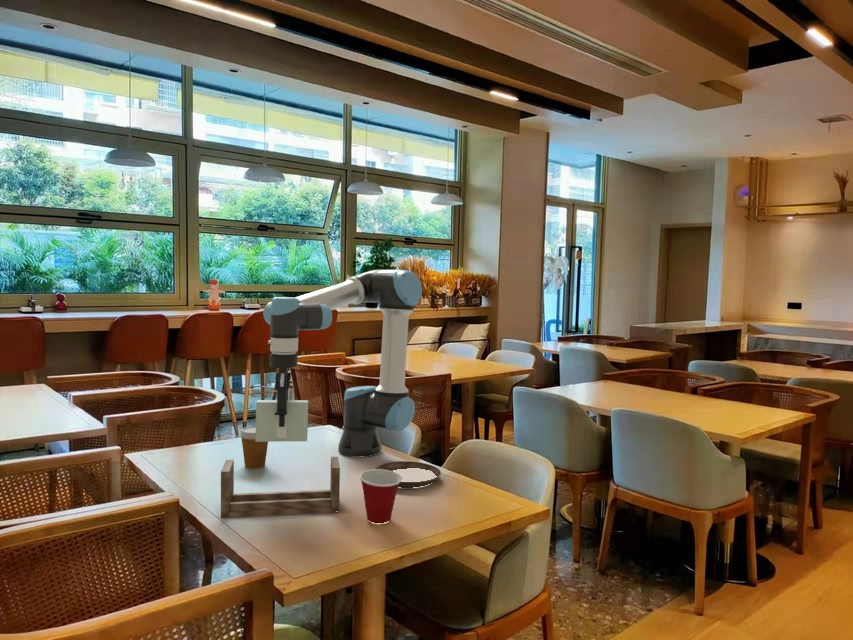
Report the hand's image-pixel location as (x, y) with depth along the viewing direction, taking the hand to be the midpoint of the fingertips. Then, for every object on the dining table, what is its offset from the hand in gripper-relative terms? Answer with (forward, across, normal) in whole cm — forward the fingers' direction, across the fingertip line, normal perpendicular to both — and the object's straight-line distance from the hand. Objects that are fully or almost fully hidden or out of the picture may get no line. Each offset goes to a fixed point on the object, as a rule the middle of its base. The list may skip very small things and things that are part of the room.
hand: (282, 435), depth 171 cm
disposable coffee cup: (+17, -28, -10) cm, 34 cm away
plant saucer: (+17, -10, +38) cm, 42 cm away
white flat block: (+1, 0, 0) cm, 1 cm away
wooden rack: (+17, +9, +1) cm, 19 cm away
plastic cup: (+17, +20, +26) cm, 37 cm away
